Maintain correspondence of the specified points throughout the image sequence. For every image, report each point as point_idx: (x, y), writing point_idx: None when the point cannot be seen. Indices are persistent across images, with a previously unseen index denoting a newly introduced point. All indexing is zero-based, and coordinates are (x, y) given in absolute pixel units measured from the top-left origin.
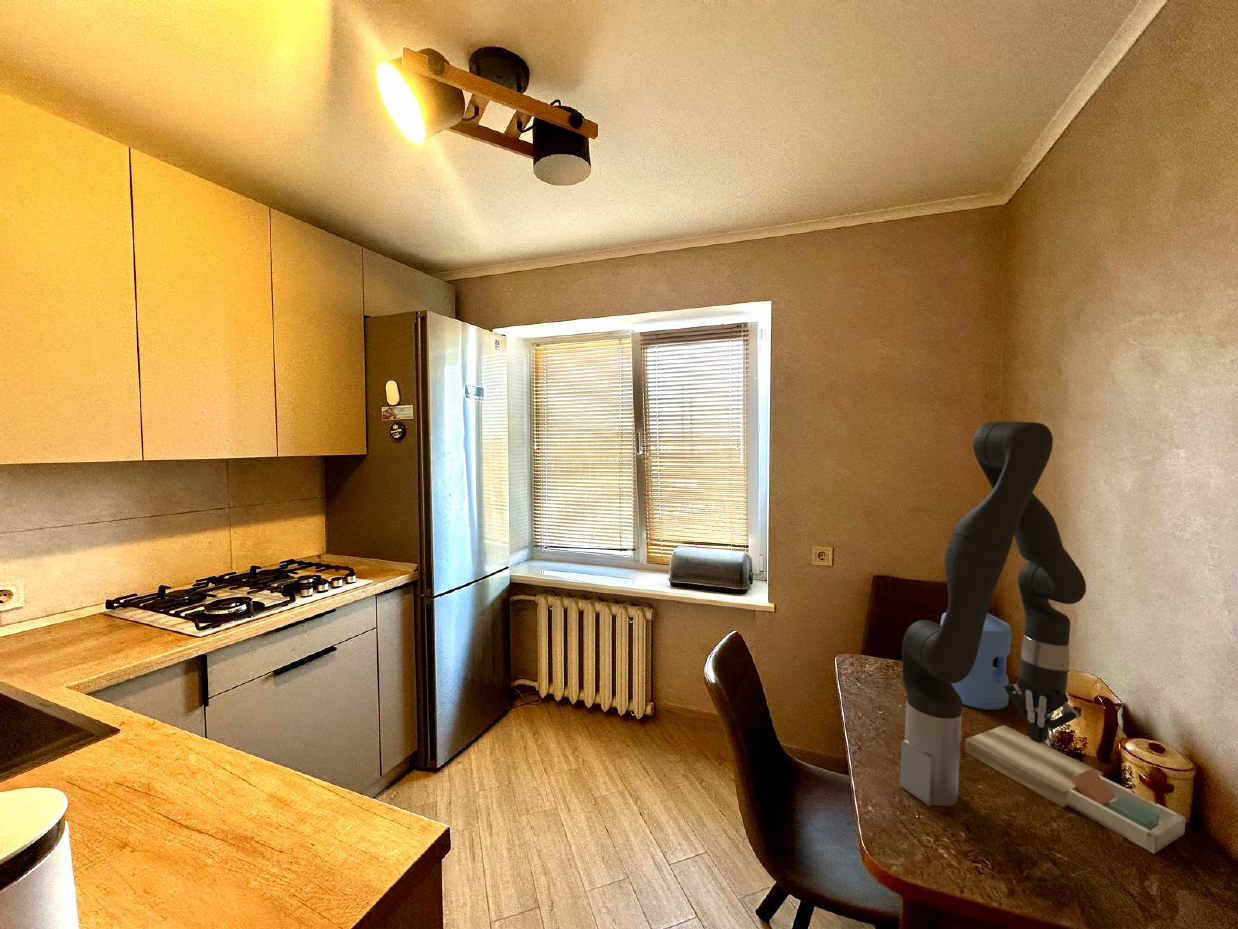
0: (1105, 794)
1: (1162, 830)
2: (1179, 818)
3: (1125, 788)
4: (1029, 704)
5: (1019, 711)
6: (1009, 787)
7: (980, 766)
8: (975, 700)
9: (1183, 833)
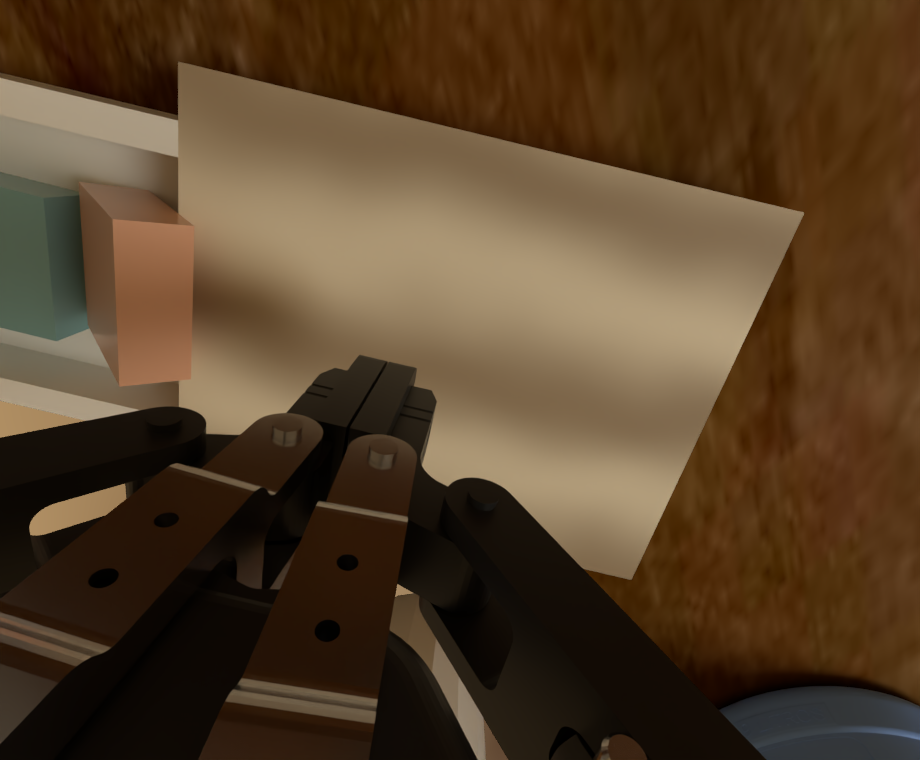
0: (90, 282)
1: None
2: None
3: (73, 414)
4: (342, 581)
5: (505, 505)
6: (467, 15)
7: (649, 113)
8: (796, 728)
9: None
